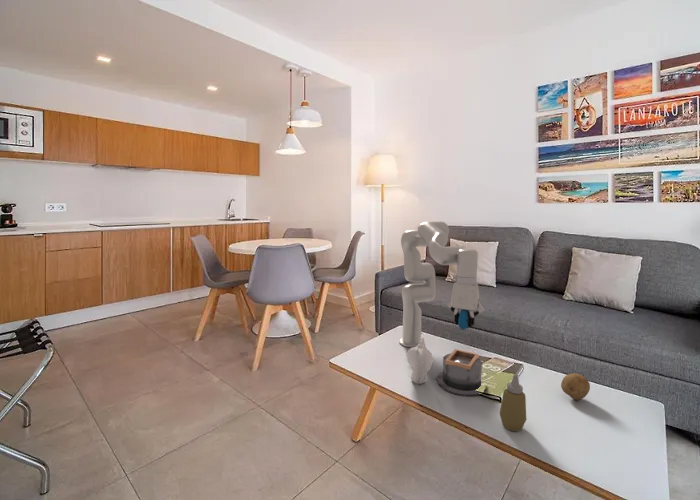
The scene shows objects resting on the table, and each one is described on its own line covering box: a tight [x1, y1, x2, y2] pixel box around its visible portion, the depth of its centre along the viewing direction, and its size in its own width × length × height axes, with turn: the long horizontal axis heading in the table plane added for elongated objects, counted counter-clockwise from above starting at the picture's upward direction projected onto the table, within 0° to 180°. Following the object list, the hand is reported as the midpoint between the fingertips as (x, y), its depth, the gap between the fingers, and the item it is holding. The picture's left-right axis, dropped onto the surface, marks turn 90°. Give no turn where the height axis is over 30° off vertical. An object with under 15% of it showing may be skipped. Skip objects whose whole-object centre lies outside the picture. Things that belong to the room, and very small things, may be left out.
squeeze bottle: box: [499, 374, 527, 432], centre depth 117 cm, size 8×8×18 cm
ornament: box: [458, 309, 471, 331], centre depth 142 cm, size 8×5×10 cm, turn 156°
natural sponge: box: [560, 372, 591, 401], centre depth 135 cm, size 9×9×10 cm
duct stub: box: [437, 348, 483, 397], centre depth 145 cm, size 19×19×12 cm
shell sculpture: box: [406, 337, 434, 385], centre depth 146 cm, size 8×8×18 cm
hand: (464, 324), depth 143 cm, fingers closed on ornament, 4 cm apart
